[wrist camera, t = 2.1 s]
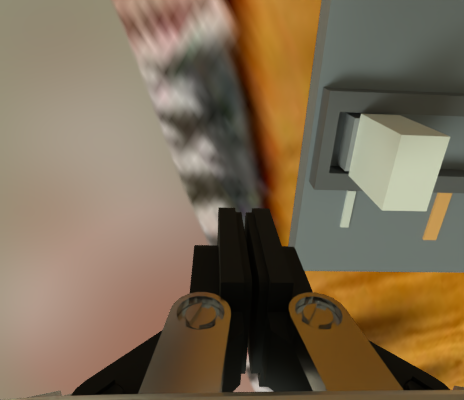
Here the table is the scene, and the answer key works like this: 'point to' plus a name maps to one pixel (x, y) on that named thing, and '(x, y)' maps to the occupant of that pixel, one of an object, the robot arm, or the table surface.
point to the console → (390, 103)
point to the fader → (392, 159)
